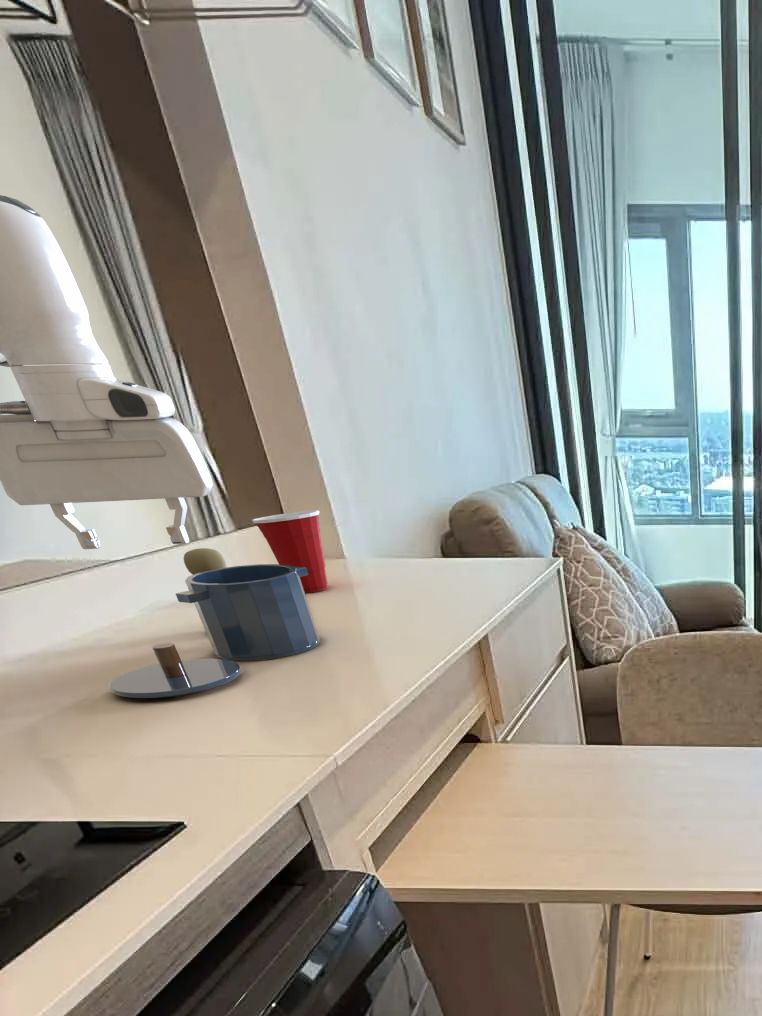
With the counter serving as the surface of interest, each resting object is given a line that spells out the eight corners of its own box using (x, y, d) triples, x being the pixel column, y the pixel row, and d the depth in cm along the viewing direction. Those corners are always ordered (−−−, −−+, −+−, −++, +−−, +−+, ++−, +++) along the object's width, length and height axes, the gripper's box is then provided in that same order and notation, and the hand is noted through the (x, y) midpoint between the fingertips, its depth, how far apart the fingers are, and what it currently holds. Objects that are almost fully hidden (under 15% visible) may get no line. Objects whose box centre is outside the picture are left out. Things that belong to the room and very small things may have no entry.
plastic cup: (308, 581, 157) (284, 507, 149) (355, 585, 154) (332, 508, 146) (263, 594, 149) (235, 516, 141) (311, 598, 146) (285, 518, 138)
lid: (87, 695, 105) (67, 655, 102) (192, 663, 115) (177, 626, 112) (165, 709, 100) (147, 667, 97) (268, 674, 110) (254, 636, 107)
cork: (218, 637, 126) (185, 554, 119) (203, 631, 129) (170, 550, 122) (259, 629, 129) (229, 548, 122) (243, 623, 132) (213, 544, 125)
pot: (176, 660, 116) (143, 584, 110) (288, 627, 130) (264, 558, 124) (245, 670, 112) (215, 592, 106) (354, 635, 125) (332, 564, 119)
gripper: (-51, 403, 86) (26, 556, 94) (170, 397, 90) (224, 544, 98) (-23, 401, 91) (47, 547, 99) (185, 395, 95) (236, 536, 103)
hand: (137, 545), depth 99 cm, fingers open, 8 cm apart
